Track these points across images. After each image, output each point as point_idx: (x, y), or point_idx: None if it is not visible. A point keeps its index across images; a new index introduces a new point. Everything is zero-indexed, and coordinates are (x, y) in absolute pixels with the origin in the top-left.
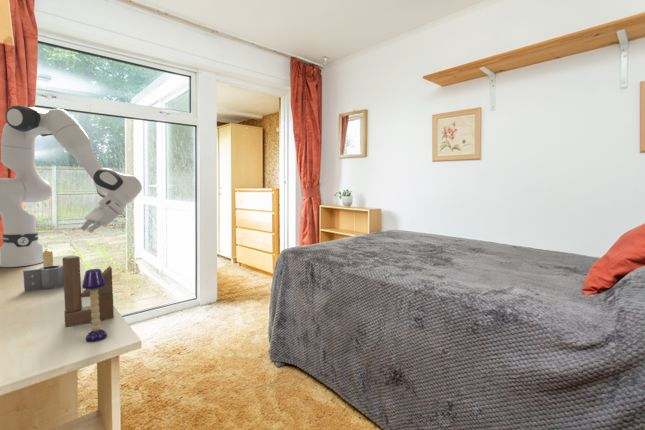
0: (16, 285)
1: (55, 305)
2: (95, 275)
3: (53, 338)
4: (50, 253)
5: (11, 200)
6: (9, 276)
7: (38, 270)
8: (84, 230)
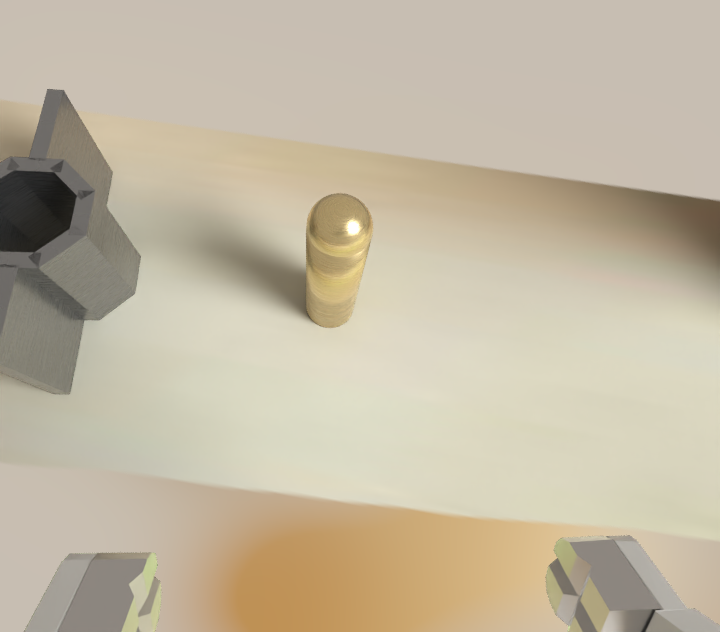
0: (270, 171)
1: None
2: None
3: None
4: (309, 234)
5: None
6: (511, 184)
7: (35, 153)
8: (548, 590)
